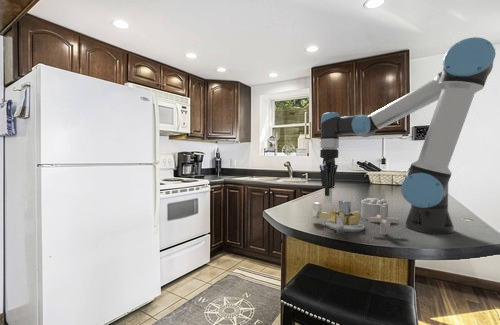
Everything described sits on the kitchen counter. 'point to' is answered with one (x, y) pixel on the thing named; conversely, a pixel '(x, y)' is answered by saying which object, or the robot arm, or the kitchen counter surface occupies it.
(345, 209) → the cap flange
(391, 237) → the kitchen counter surface
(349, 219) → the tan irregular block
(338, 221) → the stop pin
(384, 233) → the pipe connector
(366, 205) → the lumpy-topped squat cylinder
